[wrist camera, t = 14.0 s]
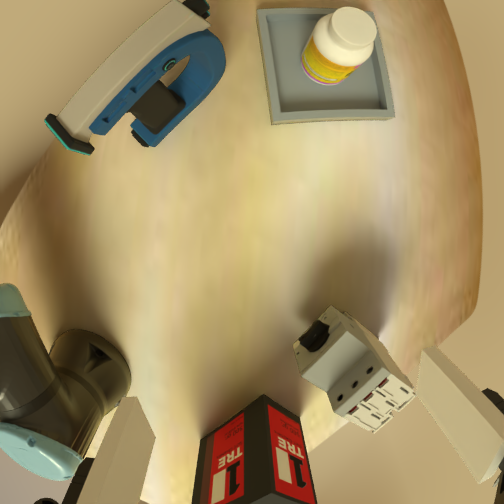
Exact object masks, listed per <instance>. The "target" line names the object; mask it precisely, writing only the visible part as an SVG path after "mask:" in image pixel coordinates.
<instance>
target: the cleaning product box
mask: <svg viewBox="0 0 504 504" xmlns="http://www.w3.org/2000/svg"><path fill="white" fill-rule="evenodd" d="M192 504H317V500H316V495H315V490H314V484H313V480H312V475H311V470H310V465H309V460H308V455H307V450H306V445H305V441H304V436H303V431H302V426H301V421H300V418H299V417H297V416H296V415H294V414H293V413H291V412H290V411H288V410H287V409H285V408H283V407H282V406H280V405H279V404H277V403H276V402H274V401H273V400H271V399H270V398H268V397H267V396H266V395H264V394H263V395H261V396H260V397H259V398H258V399H256V400H255V401H254V402H252V403H251V404H250V405H249V406H247V407H246V408H245V409H243V410H242V411H241V412H239V413H238V414H237V415H235V416H234V417H232V418H231V419H230V420H228V421H227V422H226V423H224V424H223V425H221V426H220V427H219V428H217V429H216V430H214V431H213V432H212V433H210V434H209V435H207V436H206V437H204V438H203V439H201V440H200V447H199V453H198V460H197V467H196V475H195V482H194V489H193V496H192Z"/></svg>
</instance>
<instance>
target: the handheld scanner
mask: <svg viewBox="0 0 504 504" xmlns="http://www.w3.org/2000/svg"><path fill="white" fill-rule="evenodd" d="M208 10H209V5H208V3H207V2H206V1H205V0H186V1H184V2H183V3H181V2H180V1H178V0H172V1H170V2H169V3H168V4H166V5H165V6H164V7H163V8H162V9H160V10H159V11H158V12H156V13H155V14H154V15H153V16H152V17H150V18H149V19H148V20H147V21H146V22H145V23H143V24H142V25H141V26H140V27H139V28H138V29H137V30H136V31H135V32H133V33H132V34H131V35H130V36H129V37H128V38H127V39H126V40H125V41H124V42H123V43H122V44H121V45H120V46H119V47H118V48H117V49H116V50H115V51H114V52H113V53H112V54H111V55H110V56H109V57H108V58H107V59H106V60H105V61H104V62H103V63H102V64H101V65H100V66H99V67H98V68H97V69H96V70H95V72H94V73H93V74H92V75H91V76H90V77H89V78H88V79H87V80H86V82H85V83H84V84H83V85H82V86H81V87H80V88H79V90H78V91H77V92H76V93H75V95H74V96H73V97H72V98H71V99H70V101H69V102H68V103H67V104H66V106H65V107H64V108H63V109H62V111H61V112H60V113H59V114H58V116H55V115H53V114H49V115H48V116H47V117H46V119H45V123H46V126H47V127H48V128H49V129H50V130H51V132H52V133H53V134H54V135H55V136H56V138H57V139H58V140H59V141H60V142H61V144H62V145H63V146H64V147H65V148H66V149H68V150H71V151H74V152H78V153H81V154H84V155H85V154H86V155H90V154H91V153H92V152H93V151H94V149H95V148H94V147H93V146H92V145H91V144H90V143H89V140H90V137H91V135H92V133H94V134H98V135H106V134H107V133H108V132H109V130H110V129H111V128H112V127H113V126H114V125H115V124H116V123H117V122H118V121H119V120H120V118H121V117H122V116H123V115H124V114H125V113H128V112H131V113H132V114H133V115H134V116H135V117H136V119H135V120H134V122H133V123H132V124H131V125H130V126H131V127H132V128H133V130H132V131H131V133H132V134H133V135H132V136H133V137H134V138H135V139H136V140H137V141H138V142H139V143H140V144H141V145H142V146H144V147H149V146H152V147H156V146H157V145H158V144H159V143H160V142H161V141H162V140H163V139H164V138H165V137H166V136H167V135H168V134H169V133H170V132H171V131H172V130H173V129H174V128H175V127H176V126H177V125H178V124H179V123H180V122H181V121H182V120H183V119H184V118H185V117H186V116H187V115H188V114H189V113H190V112H191V111H192V110H193V109H194V108H196V107H197V106H198V105H199V104H200V103H201V102H202V101H203V100H204V99H205V98H206V97H207V95H208V94H209V93H210V92H211V91H212V90H213V88H214V87H215V86H216V84H217V83H218V82H219V80H220V79H221V77H222V75H223V73H224V71H225V66H226V59H225V52H224V49H223V46H222V44H221V42H220V40H219V39H218V38H217V37H216V36H215V35H214V34H213V33H211V32H210V31H209V30H208V29H207V28H208V27H210V26H211V24H210V23H208V22H207V21H206V20H205V19H206V18H207V17H209V16H210V13H209V12H208ZM188 55H190V60H189V62H188V64H187V66H186V68H185V69H184V71H183V72H182V73H181V74H180V75H179V77H178V78H177V79H176V80H175V81H174V82H173V83H171V84H170V85H169V86H168V87H166V86H165V85H164V84H163V83H162V82H161V81H160V80H159V79H160V78H161V77H162V76H163V75H164V74H165V73H166V72H167V71H168V70H170V69H171V68H172V67H173V66H174V65H175V64H176V63H177V62H179V61H180V60H182V59H183V58H185V57H186V56H188Z"/></svg>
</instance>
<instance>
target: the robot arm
mask: <svg viewBox="0 0 504 504" xmlns="http://www.w3.org/2000/svg"><path fill="white" fill-rule="evenodd" d="M31 315H32V314H31V312H30V311H28V309H27V307H26V305H25V302H24V300H23V298H22V296H21V293H20V291H19V290H18V288H17V287H16V286H14V285H13V284H10V283H3V284H0V447H1V448H2V450H3V451H4V452H5V453H6V454H7V455H8V456H10V457H11V458H12V459H13V460H14V461H16V462H17V463H18V464H20V465H21V466H23V467H24V468H26V469H27V470H29V471H31V472H33V473H35V474H37V475H39V476H42V477H44V478H47V479H51V480H56V481H64V480H68V479H70V478H71V477H72V476H73V475H74V474H75V476H74V477H73V479H72V483H70V486H69V488H68V490H67V493H66V495H65V497H64V500H63V502H62V504H139V500H140V496H141V492H142V488H143V484H144V480H145V476H146V472H147V468H148V464H149V461H150V457H151V453H152V449H153V445H154V442H155V438H156V437H155V435H154V433H153V431H152V429H151V427H150V425H149V422H148V420H147V418H146V416H145V414H144V412H143V409H142V407H141V405H140V403H139V400H138V398H137V397H126V395H127V393H128V391H129V389H130V385H131V375H130V371H129V368H128V365H127V363H126V361H125V360H124V358H123V357H122V355H121V354H120V353H119V351H118V350H117V349H116V348H115V347H114V346H113V345H112V344H110V343H109V342H108V341H107V340H105V339H104V338H102V337H100V336H98V335H97V334H94V333H92V332H89V331H85V330H71V331H67V332H65V333H64V334H62V335H61V336H60V337H59V338H58V339H57V340H56V341H55V342H54V343H53V345H52V347H51V349H50V352H49V354H48V352H47V350H46V348H45V346H44V344H43V342H42V340H41V337H40V335H39V333H38V331H37V329H36V326H35V324H34V322H33V319H32V317H31ZM415 394H416V395H417V397H418V398H419V399H420V401H421V402H422V403H423V405H424V406H425V408H426V409H427V410H428V412H429V413H430V415H431V416H432V417H433V419H434V420H435V422H436V423H437V424H438V426H439V427H440V428H441V430H442V431H443V433H444V434H445V436H446V437H447V438H448V440H449V441H450V443H451V444H452V446H453V447H454V449H455V450H456V451H457V453H458V454H459V455H460V457H461V459H462V460H463V462H464V463H465V465H466V466H467V468H468V469H469V470H470V472H471V473H472V475H473V476H474V478H475V479H476V481H477V482H478V484H480V483H482V482H483V481H485V480H487V479H488V478H490V477H492V476H493V475H494V473H495V472H496V470H497V468H498V467H499V468H500V470H501V471H502V472H501V473H500V475H499V477H498V478H497V480H496V481H495V483H494V485H493V487H495V486H496V485H497V483H498V487H497V492H496V498H495V502H494V504H504V399H503V398H502V397H501V396H500V395H499V394H498V393H497V392H495V391H492V390H490V389H488V388H487V389H485V390H483V391H480V390H479V389H478V388H477V386H476V385H475V384H473V382H472V381H471V380H470V379H468V377H467V376H466V375H465V374H464V373H463V372H462V371H461V370H460V369H459V368H458V367H457V366H456V365H455V364H454V363H452V361H451V360H450V359H448V357H447V356H446V355H444V354H443V353H442V352H441V351H440V350H439V349H438V348H437V347H436V346H435V345H434V346H431V347H428V348H425V349H422V353H421V361H420V368H419V375H418V381H417V387H416V393H415ZM117 406H118V408H117V410H116V412H115V414H114V416H113V419H112V421H111V423H110V425H109V427H108V430H107V432H106V434H105V436H104V439H103V441H102V443H101V446H100V448H99V450H98V453H97V455H96V457H95V458H88V457H86V458H85V459H84V457H85V455H86V452H87V450H88V448H89V446H90V444H91V442H92V439H93V437H94V435H95V433H96V431H97V429H98V427H99V425H100V422H101V421H102V419H103V417H104V416H105V415H106V414H108V413H109V412H110V411H112V410H113V409H114V408H115V407H117ZM83 459H84V460H83ZM34 504H58V503H57V502H56V501H55V500H53V499H51V498H42V499H39V500H38V501H36V502H35V503H34Z"/></svg>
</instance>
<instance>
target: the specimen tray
mask: <svg viewBox="0 0 504 504" xmlns="http://www.w3.org/2000/svg"><path fill="white" fill-rule="evenodd" d="M336 10H337V9H332V8H272V9H257V15H256V21H257V28H258V34H259V40H260V47H261V54H262V60H263V67H264V74H265V81H266V88H267V96H268V103H269V111H270V118H271V125H277V124H289V123H303V122H320V121H347V120H388V119H391V118H394V117H395V112H394V105H393V99H392V93H391V88H390V82H389V77H388V72H387V67H386V62H385V57H384V53H383V48H382V44H381V40H380V36H379V32H378V28H377V24H376V20H375V17H374V13H373V12H370V11H364V12H365V13H367V14H368V15H369V16H370V17H371V18H372V20H373V21H374V23H375V25H376V29H377V34H376V38H375V39H374V41H373V42H374V46H373V51H372V53H371V55H370V57H369V58H368V59H367V60H366V61H365V62H364V63H362V64H361V65H360V66H359V67H358V68H357V69H356V70H355V71H354V72H353V73H351V74H350V75H349V76H348V77H347V78H346V79H345V80H344V81H342V82H341V83H339V84H336V85H322V84H319V83H316V82H314V81H313V80H311V79H310V78H309V77H308V76H307V75H306V74H305V72H304V71H303V69H302V66H301V54H302V52H303V50H304V47H305V46H306V44H307V42H308V40H309V38H310V36H311V34H312V32H313V30H314V28H315V26H316V24H317V22H318V21H319V20H320V19H321V18H322V17H324V16H326V15H328V14H331V13H334V12H335V11H336Z"/></svg>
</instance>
